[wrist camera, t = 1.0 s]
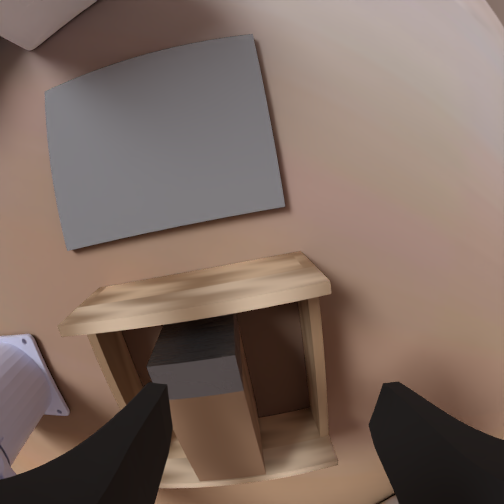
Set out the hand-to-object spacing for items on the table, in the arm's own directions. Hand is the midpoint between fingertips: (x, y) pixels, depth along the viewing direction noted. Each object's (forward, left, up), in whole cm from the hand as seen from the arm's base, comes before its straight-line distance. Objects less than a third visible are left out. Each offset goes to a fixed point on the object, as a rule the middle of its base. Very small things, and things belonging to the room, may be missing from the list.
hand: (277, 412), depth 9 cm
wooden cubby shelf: (-3, -4, -11) cm, 12 cm away
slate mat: (-4, +11, -11) cm, 16 cm away
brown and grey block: (-3, -4, -11) cm, 12 cm away
